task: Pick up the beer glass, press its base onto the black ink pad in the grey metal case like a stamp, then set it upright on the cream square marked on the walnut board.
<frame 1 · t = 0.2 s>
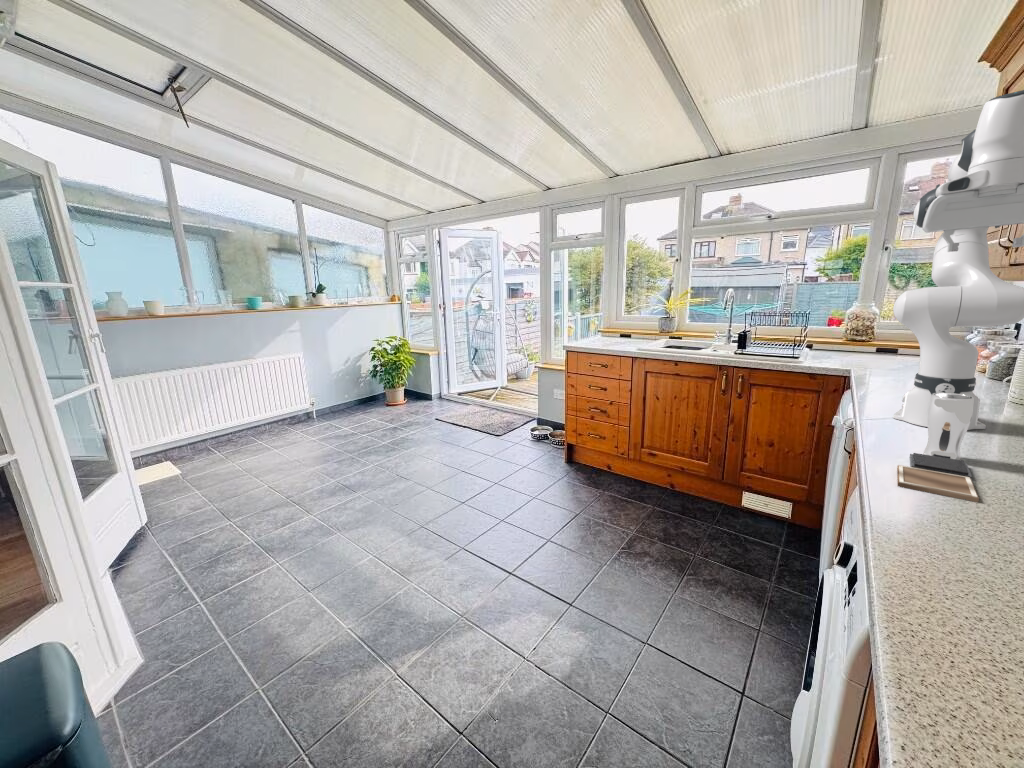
hand: (984, 249, 88), 47 cm above the countertop, tool pointing down, fingers open, 8 cm apart
ink pad: (938, 468, 91), on the countertop
beer glass: (941, 458, 96), on the countertop
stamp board: (933, 483, 84), on the countertop
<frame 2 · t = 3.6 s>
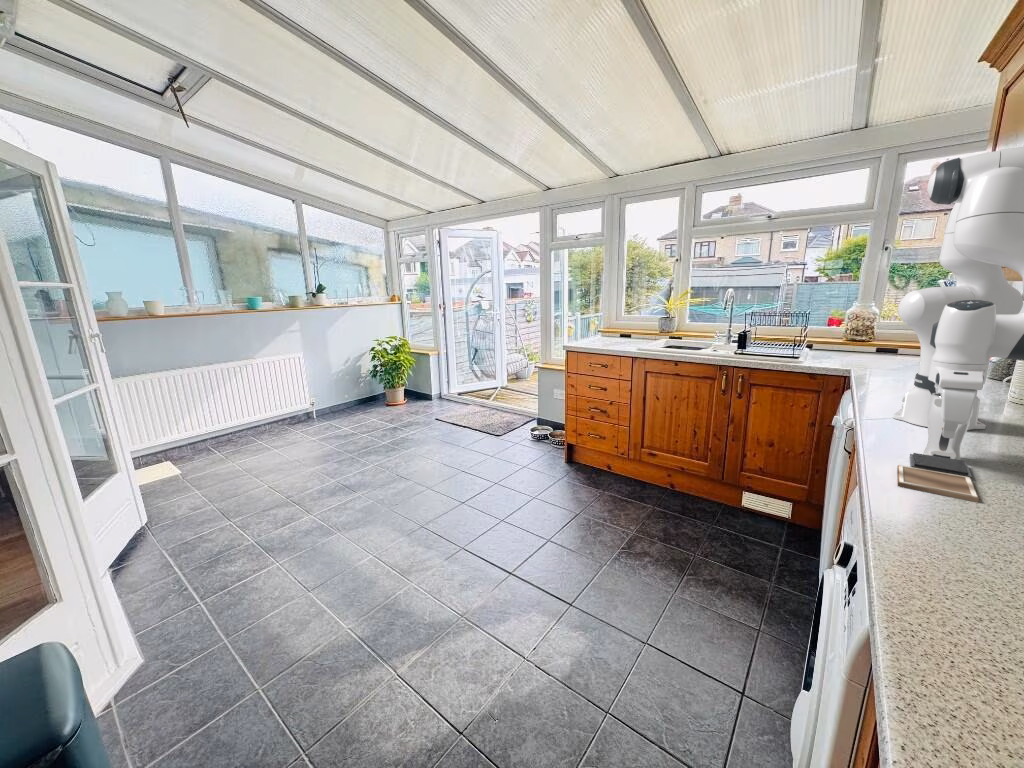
hand: (946, 432, 95), 6 cm above the countertop, tool pointing down, fingers closed on beer glass, 6 cm apart
beer glass: (941, 458, 96), on the countertop, touching gripper
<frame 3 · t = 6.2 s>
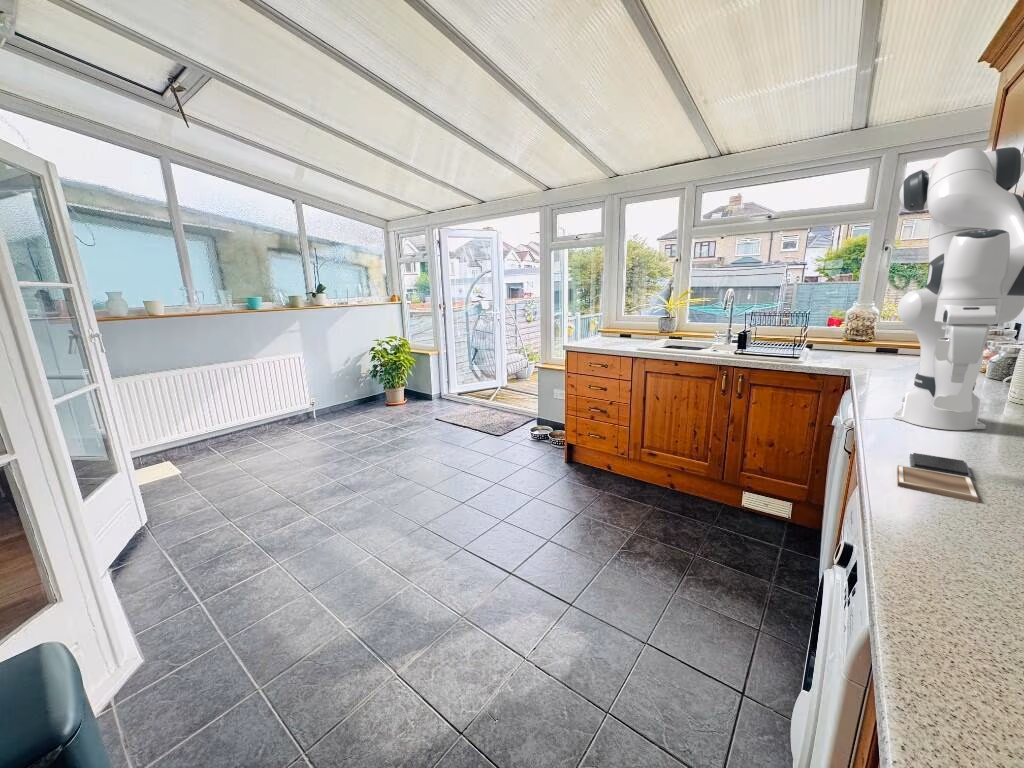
hand: (954, 379, 87), 20 cm above the countertop, tool pointing down, fingers closed on beer glass, 6 cm apart
beer glass: (950, 409, 88), point 14 cm above the countertop, touching gripper
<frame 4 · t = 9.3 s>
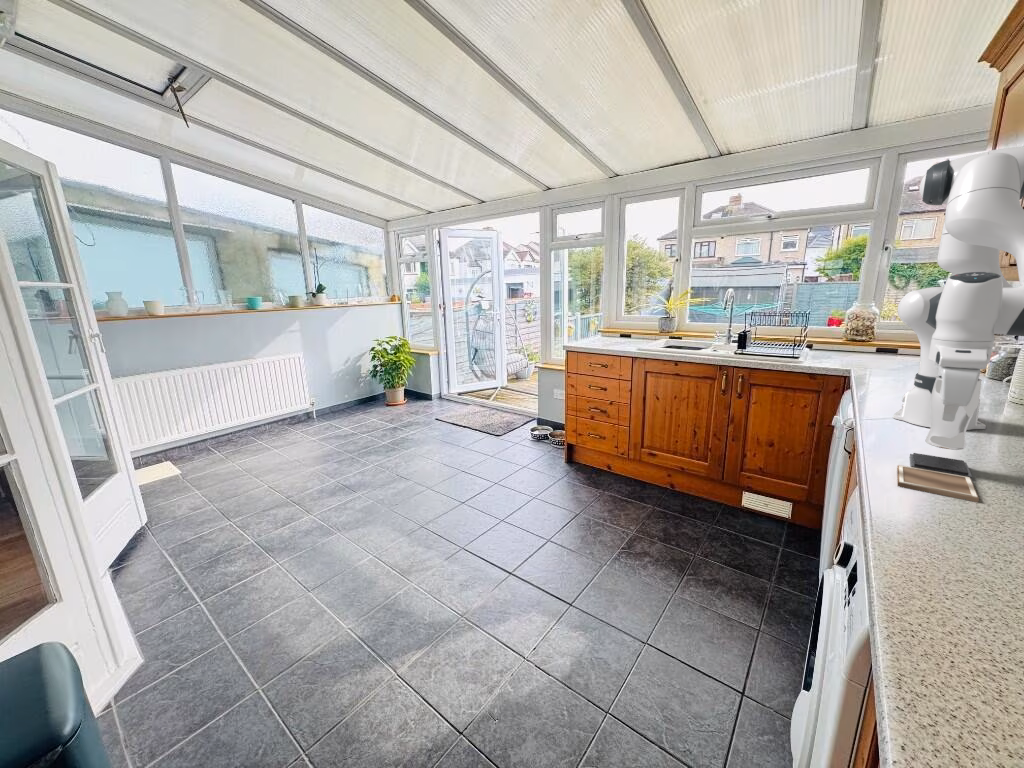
hand: (946, 416, 89), 12 cm above the countertop, tool pointing down, fingers closed on beer glass, 6 cm apart
beer glass: (944, 445, 90), point 5 cm above the countertop, touching gripper
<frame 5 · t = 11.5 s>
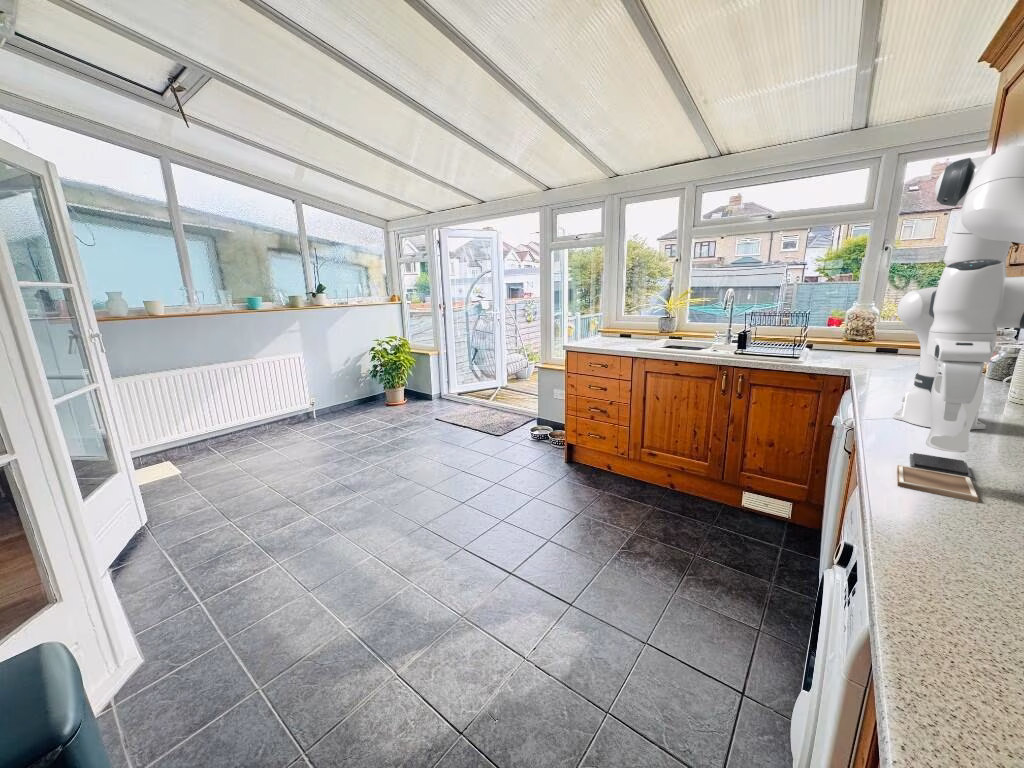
hand: (947, 415, 82), 14 cm above the countertop, tool pointing down, fingers closed on beer glass, 6 cm apart
beer glass: (946, 448, 83), point 8 cm above the countertop, touching gripper
when the fingers open (8 cm above the countertop, at t = 13.9 s): beer glass moves 3 cm, resting on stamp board.
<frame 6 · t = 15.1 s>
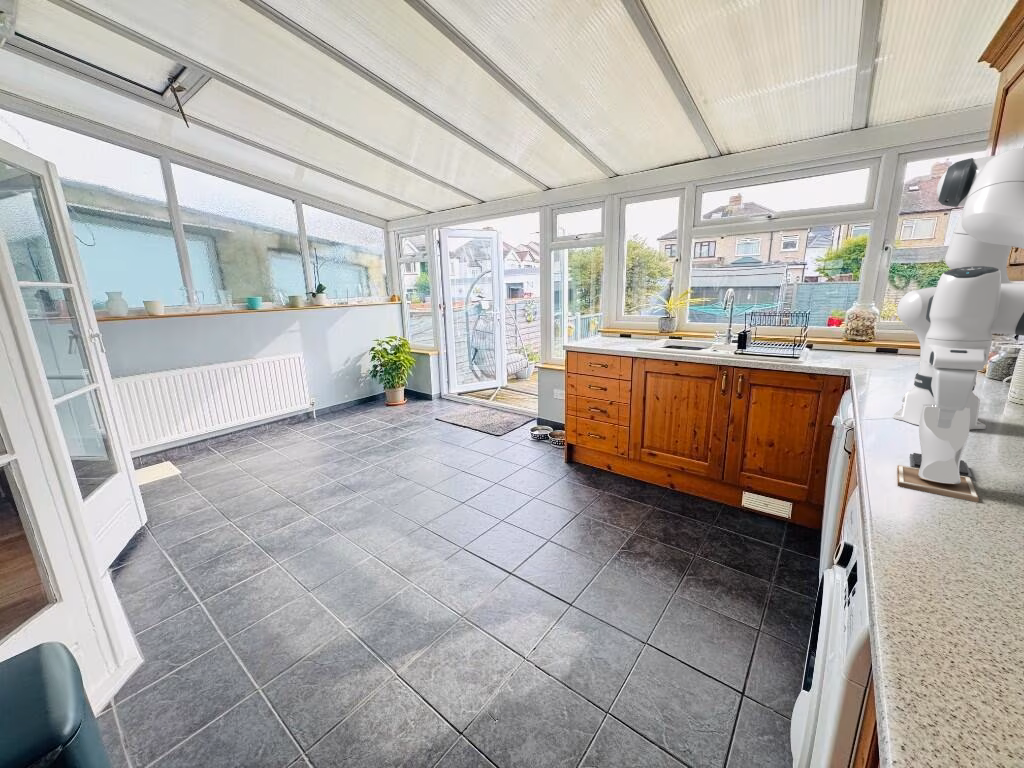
hand: (941, 420, 83), 13 cm above the countertop, tool pointing down, fingers open, 8 cm apart
beer glass: (938, 481, 83), point 1 cm above the countertop, touching gripper, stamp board
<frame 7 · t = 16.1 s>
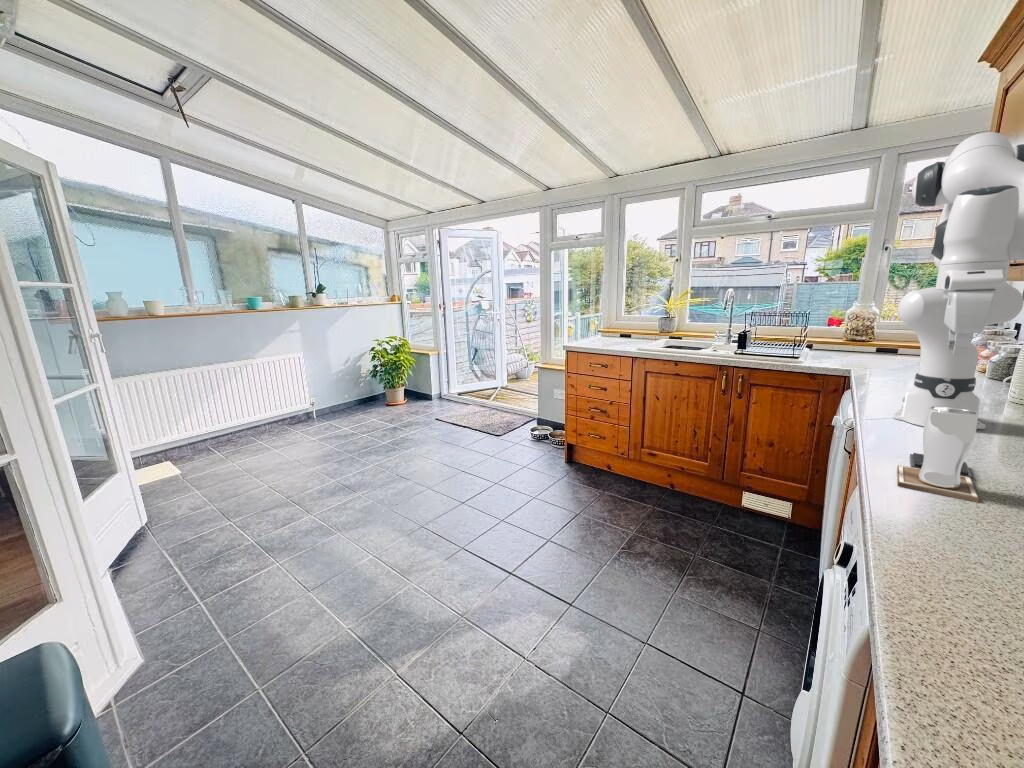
hand: (956, 352, 80), 27 cm above the countertop, tool pointing down, fingers open, 8 cm apart
beer glass: (937, 483, 83), point 1 cm above the countertop, touching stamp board
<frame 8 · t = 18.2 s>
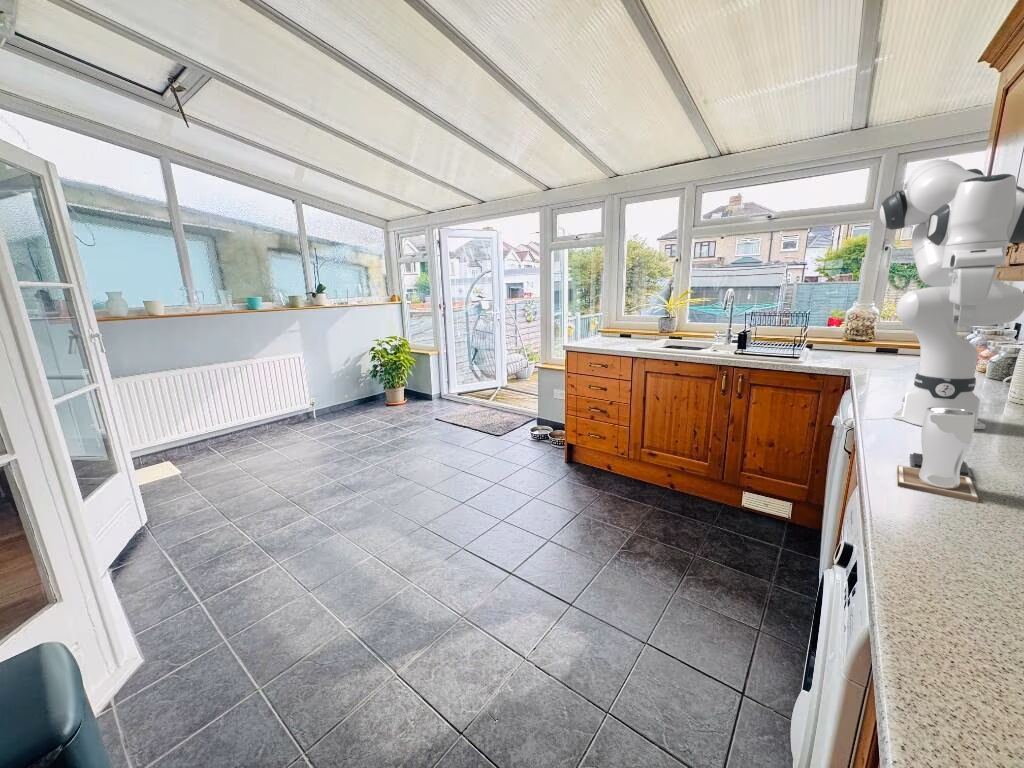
hand: (961, 325, 88), 31 cm above the countertop, tool pointing down, fingers open, 8 cm apart
nothing on the countertop moved.
at the end: beer glass inside the target area on the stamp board (1.4 cm from its centre), point 0.6 cm above the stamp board's base; beer glass tilted 1°; the gripper is holding nothing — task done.
